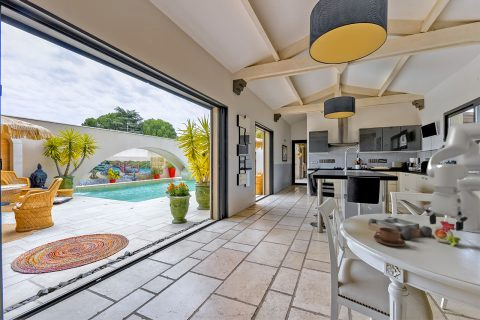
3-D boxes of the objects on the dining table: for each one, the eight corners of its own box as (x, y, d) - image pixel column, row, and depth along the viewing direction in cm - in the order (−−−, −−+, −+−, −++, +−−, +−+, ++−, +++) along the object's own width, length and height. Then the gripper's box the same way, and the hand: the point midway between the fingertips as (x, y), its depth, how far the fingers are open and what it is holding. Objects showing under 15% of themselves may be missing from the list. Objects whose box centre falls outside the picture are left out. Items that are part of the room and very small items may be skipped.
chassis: (394, 224, 123) (394, 215, 123) (434, 236, 104) (434, 225, 104) (366, 227, 117) (366, 218, 117) (402, 240, 98) (402, 229, 98)
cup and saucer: (391, 250, 88) (391, 235, 88) (367, 239, 99) (367, 227, 99) (412, 247, 91) (411, 233, 91) (386, 237, 103) (386, 225, 103)
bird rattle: (437, 247, 94) (462, 246, 88) (425, 224, 98) (448, 220, 91) (441, 245, 98) (465, 243, 91) (429, 222, 102) (452, 218, 95)
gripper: (476, 193, 87) (476, 232, 87) (429, 188, 104) (429, 221, 104) (465, 193, 85) (465, 234, 85) (418, 188, 102) (418, 222, 101)
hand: (445, 227), depth 94 cm, fingers open, 9 cm apart
